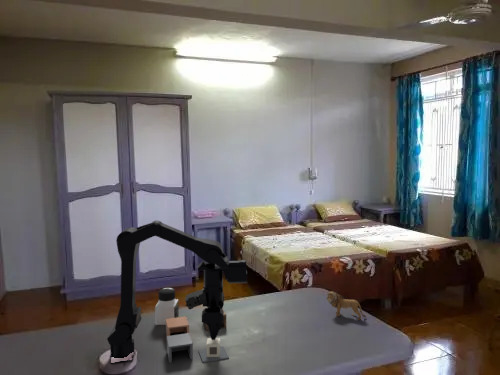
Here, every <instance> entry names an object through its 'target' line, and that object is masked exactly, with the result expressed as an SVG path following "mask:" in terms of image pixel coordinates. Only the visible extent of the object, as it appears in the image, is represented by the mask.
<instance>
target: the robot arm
mask: <svg viewBox="0 0 500 375" xmlns="http://www.w3.org/2000/svg"><path fill="white" fill-rule="evenodd" d="M153 237H158V238H159V239H162V240H165V241H168V242H169V243H172V244H174V245H176V246H179V247H181V248H183V249H186V250H189V251H191V252H192V253H194V254H195V255H196V256H197V257H199V258H200V259H201V260H202V261H201V262H200V263H199V264H198V265H197V271H203V286H202V287H203V288H202V289H199V290H196V291H194V292H190V293H188V294H186V295H185V298H184V301H185V306H186V307H187V308H188V310H192V309H193V308H196V307H199V306H202V307H206V308H203V309H204V310H203V309H202V312H201V323H202V324H203V325H204V324H207V325H208V328H209V330H208V331H209V335H210V338H211V339H212V340H215V339H216V338H218V337H217V336H218V335H219V331H220V329H221V327H222V326H223V325H222V323H223V322H224V311H225V310H224V306H225V305H224V304H225V292H224V280H225V281H226V283H227V282H228V284H247V283H248V271H247V270H248V269H247V260H246V259H241V260H229V259H230V258H228V256H227V255H226V254H225V253H224V251H223V244H222V243H220V242H219V241H218V240H213V239H210V238H202V237H196V236H194V235H192V234H190V233H187V232H184V231H182V230H180V229H178V228H175V227H173V226H170V225H168V224H165V223H163V222H162V221H161V220H154V221H152V222H150V223H147V224H143V225H140V226H138V227H134V226H130V227H127V228H125V229H124V230H122V232H120V233H119V234H118V235H117V237H116V239H115V240H116V247H117V252H118V255H119V258H120V261H121V262H120V265H121V266H120V306H119V310H118V314H117V316H116V319H115V320H116V321H115V325H114V327H113V328H112V330H111V331H110V334H109V335H108V336H107V338H106V340H107V342H108V344H109V348H110V349H109V350H110V357H114V358H124V357H127V356H128V355H129V354H130V353H132V352H134V353H135V339H134V338H133V334H134V333H135V331H136V329H137V328H138V326H139V324H140V323H141V320H142V315H141V314H142V313H141V311H142V306H139V307H137V306H138V305H137V304H136V282H137V281H136V276H137V273H136V272H137V256H138V252H139V249H140V245H141V243H143V242H145V241H146V240H148V239H151V238H153ZM224 277H225V278H224ZM223 278H224V279H223ZM222 308H223V310H224V311H223V310H222Z"/></svg>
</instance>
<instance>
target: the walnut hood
mask: <svg viewBox="0 0 500 375" xmlns="http://www.w3.org/2000/svg"><path fill="white" fill-rule="evenodd" d="M204 309H205V308H203V309H202V311H203V310H204ZM222 310H223V311H224V322H223V323H222V325H221V326H223V328H224V329H227V313H226V312H225V310H224V307H223V308H222ZM203 325H204V327H205V329H206V331H209V328H208V325H207V324H204V323H203Z"/></svg>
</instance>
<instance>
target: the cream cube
mask: <svg viewBox="0 0 500 375" xmlns="http://www.w3.org/2000/svg"><path fill="white" fill-rule="evenodd" d="M220 347H221V337H216V339H215V340H212V339H211V337H208V338H206V349H207V357H220Z"/></svg>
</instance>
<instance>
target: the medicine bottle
mask: <svg viewBox="0 0 500 375" xmlns="http://www.w3.org/2000/svg"><path fill="white" fill-rule="evenodd" d="M157 295H158V302H157V303H156V305H155V306H154V311H155V312H154V314H155V325H156V326H166V319H169V318H177V317H180V316H179V313H180V312H179V308H180V305H179V299H178V298H177V299H176V289H174V288H172V287H165V288H161V289H160V290H158V294H157Z"/></svg>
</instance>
